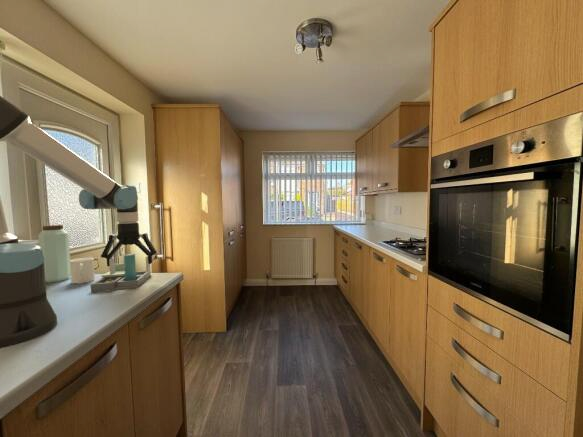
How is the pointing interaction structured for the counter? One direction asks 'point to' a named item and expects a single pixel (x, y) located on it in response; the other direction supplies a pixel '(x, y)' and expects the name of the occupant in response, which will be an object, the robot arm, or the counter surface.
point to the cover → (116, 271)
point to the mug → (82, 270)
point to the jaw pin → (130, 267)
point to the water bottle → (55, 252)
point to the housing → (119, 282)
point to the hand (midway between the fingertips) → (130, 272)
